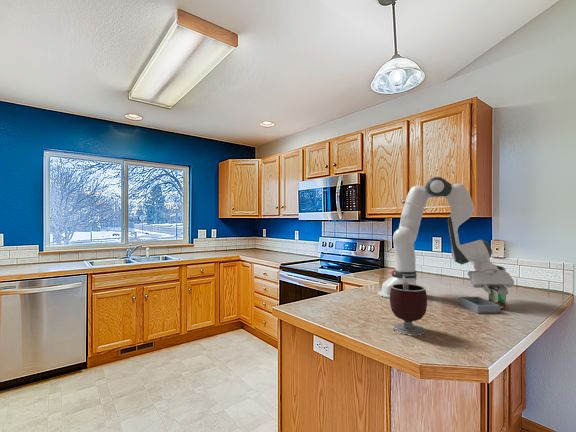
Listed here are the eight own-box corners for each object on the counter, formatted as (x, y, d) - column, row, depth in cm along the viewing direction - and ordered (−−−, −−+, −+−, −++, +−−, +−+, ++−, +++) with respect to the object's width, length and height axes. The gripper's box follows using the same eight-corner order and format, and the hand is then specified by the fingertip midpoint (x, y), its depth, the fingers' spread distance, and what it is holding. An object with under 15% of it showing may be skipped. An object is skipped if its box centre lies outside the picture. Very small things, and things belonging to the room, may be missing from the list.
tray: (477, 313, 143) (477, 305, 144) (458, 303, 160) (458, 296, 160) (500, 313, 143) (500, 305, 144) (478, 303, 160) (478, 296, 160)
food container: (513, 311, 146) (513, 290, 146) (498, 310, 147) (498, 289, 147) (501, 304, 158) (500, 284, 158) (487, 303, 159) (487, 284, 160)
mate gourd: (432, 337, 115) (431, 284, 115) (393, 335, 117) (392, 283, 117) (421, 323, 130) (420, 276, 130) (387, 322, 133) (386, 275, 133)
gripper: (468, 267, 161) (480, 290, 152) (507, 267, 161) (522, 290, 152) (464, 274, 166) (475, 297, 156) (501, 274, 166) (515, 297, 156)
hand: (498, 294), depth 154 cm, fingers closed on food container, 6 cm apart
